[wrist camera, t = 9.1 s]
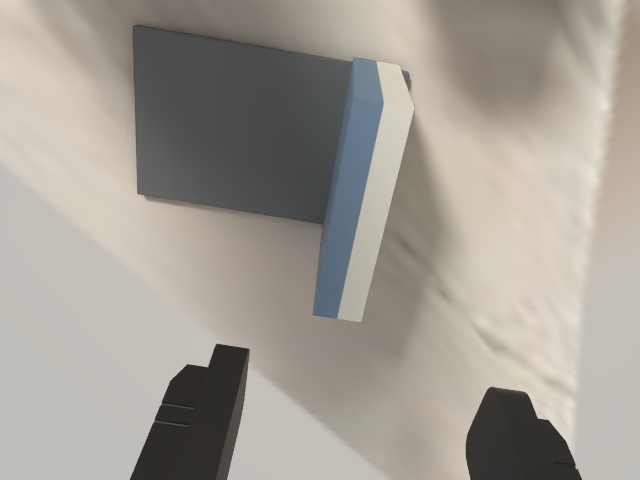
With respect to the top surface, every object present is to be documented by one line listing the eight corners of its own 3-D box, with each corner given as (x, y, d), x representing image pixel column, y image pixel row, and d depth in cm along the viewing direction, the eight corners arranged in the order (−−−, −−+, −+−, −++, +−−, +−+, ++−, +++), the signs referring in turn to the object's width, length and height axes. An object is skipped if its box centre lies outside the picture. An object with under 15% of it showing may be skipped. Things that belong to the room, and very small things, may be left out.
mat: (136, 25, 23) (132, 26, 22) (407, 71, 23) (408, 74, 23) (140, 190, 27) (137, 194, 26) (371, 228, 27) (371, 231, 27)
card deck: (321, 235, 27) (353, 57, 22) (359, 242, 27) (399, 65, 22) (312, 315, 21) (353, 97, 17) (360, 322, 21) (414, 108, 17)
